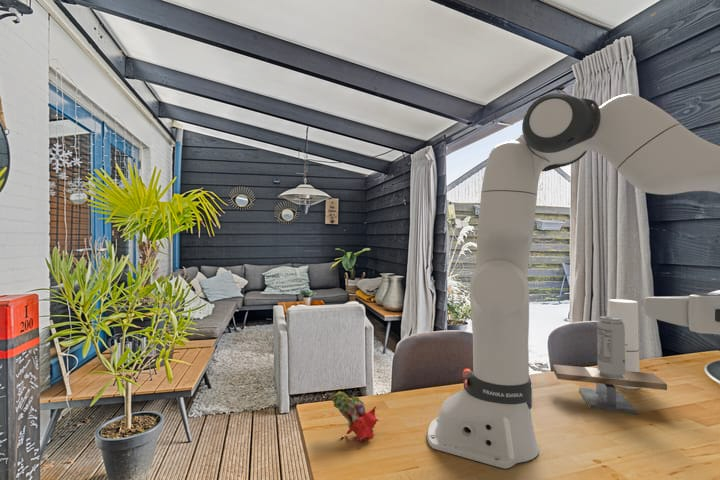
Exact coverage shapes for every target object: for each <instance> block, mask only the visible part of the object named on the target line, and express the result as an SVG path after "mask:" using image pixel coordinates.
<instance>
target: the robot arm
mask: <svg viewBox="0 0 720 480" xmlns="http://www.w3.org/2000/svg"><path fill="white" fill-rule="evenodd" d="M521 126H522V127H521V130H522V132H521V133H522V137H521V138H519V139H517V140H510V141H508V140H507V141H504V142H502V143H499V144H497V145H496V146H494V147H493V148H492V149H491V151H490V153H489V155H488V158H487V162H486V165H485V169H484V175H483V178H482V185H481V192H480V201H479V212H478V221H477V222H478V223H477V233H476V234H477V238H476V239H477V240H476V257H475V270H474V272H473V274H472V276H471V277H470V280H469V298H470V299H469V301H470V302H469V303H470V317H471V319H470V321H471V332H472V358H473V360H472V364H473V365H472V366H473V367H472V368H473V370H471V369H470V368H464V370H463V371H462V377H463V389H461V390H460V391H458V392H457V393H455V394H454V393H453V395H451V396H450V397H448V398H446V399H445V400H444V401H443V402H442V405H441V407H440V409H439V412H438V416H437V417H435V418H434V419H433V420H432V421H431V422H430V423H429V426H428V429H427V436H426V437H427V438H426V439H427V442H428V445H429V446H430V447H431V448H432V449H434V450H437V451H441V452H444V453H448V454H451V455H455V456H458V457H462V458H466V459H468V460H472V461H476V462H478V463H479V462H480V463H483V464H486V465H490V466H494V467H497V468H501V469H509V468H511V467H514V466H515V465H516V464H519V463H523V462H524V463H525V462H528V461H530V460H531V461H532V460H533V459H535V458H536V457H538V455H539V453H540V448H539V444H538V441H537V438H536V434H535V430H534V425H533V418H532V405H533V384H532V381H531V380H532V379H531V377H530V366H529V365H530V363H529V361H530V360H529V358H530V357H529V353H530V352H529V338H530V337H529V333H530V332H529V331H530V330H529V329H530V328H529V327H530V285H529V280H528V273H529V272H528V271H529V265H530V264H529V263H530V255H531V249H532V243H533V237H534V227H535V218H536V211H537V210H536V208H537V199H538V198H537V197H538V190H539V189H538V187H539V181H540V177H541V173H542V172H548V171H552V170H555V169H558V168H562V167H563V168H564V167H566V166H570V165H572V164H575V163H576V162H578V161H580V159H582V158H583V157H585V155H586V154H587V152H588V151H589V152H593V153H597V154H599V156H600V155H601V156H602V157H603V158H604V159H606V160H607V162H609V163H610V164H611V166H613V168H615V169H616V170H617V172H618V173H619V174H620V175H621V176H622V177H623V178H624V179H625V180H626V181H627V182H628V183H629V184H630V185H632V186H633V187H634V188H637V189H638V190H640V191H642V192H644V193H646V194H653V195H660V196H661V195H676V194H684V193H688V192H689V193H691V192H713V193H718V194H720V145H718V144H715V143H712V142H710V141H708V140H706V139H704V138H703V137H700V136H698V135H696V133H694V132H692V131H691V130H689V129H688V128H686V127H685V126H684V125H683V124H681V122H679V121H678V120H677V119H676V118H674V117H673V116H672V115H670V114H669V113H668V112H666V111H665V110H664V109H662V108H661V107H659V106H658V105H656V104H654V103H652V102H650V101H649V100H647V99H645V98H643V97H641V96H639V95H637V94H633V93H625V94H620V95H618V96H614V97H612V98H611V99H608V100H607V101H606V102H604V103H603V104H601V105H600V106H599V104H598V103H597V101H595V100H594V99H591V98H590V99H589V98H584V97H578V96H575V95H573V94H568V93H561V92H559V93H558V92H554V93H553V92H552V93H547V94H546V95H543V96H541V97H539V98H537V99H536V100H534V101H533V102H532V104H531V105H530V106H529V107H528V108H527V110H526V112H525V114H524V116H523V119H522V123H521ZM640 306H641V307H643V311H644V314H645V315H646V316H647V317H649V318H650V319H655V320H657V321H661V322H665V323H669V324H673V325H677V326H682V327H688V329H689V331H690V332H692V333H698V334H704V335H713V336H714V335H716V336H720V289H718V290H714V291H711V292H705V293H704V292H703V293H696V294H694V293H693V294H690V295H682V296H679V295H678V296H677V295H676V296H673V295H672V296H671V295H670V296H646V297H641V298H640ZM529 377H530V378H529Z"/></svg>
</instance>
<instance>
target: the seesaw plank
mask: <svg viewBox="0 0 720 480" xmlns="http://www.w3.org/2000/svg"><path fill="white" fill-rule="evenodd" d="M552 372H553V373H554V374H555V377H556V379H557V380H563V381H571V382H572V381H573V382H582V383H590V384H591V383H592V384H596V383H601V384H611V385H614V386H615V385H621V386H630V387H639V389H640V388H643V389H651V390H661V391H662V390H664V391H668V384H667V383H666V382H665V381H664V380H662V379H661V378H660V377H659V376H658V375H656V374H655V373H653V372H643V371H641V372H640V371H639V372H632V371H625V374H624V375H623V377H622V378H612V377H607V376H604V375H602V374H600V371H599V370H598V367H588V366H574V365H565V364H564V365H562V364H552Z"/></svg>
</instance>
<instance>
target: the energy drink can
mask: <svg viewBox="0 0 720 480" xmlns="http://www.w3.org/2000/svg"><path fill="white" fill-rule="evenodd" d="M596 341H597V342H596V343H597V344H596V348H597V349H596V350H597V351H596V352H597V360H596V361H597V362H596V363H597V367H596V368H598V370H599V371H600V374H602V375H604V376H607V377H612V378H622V377H623V375H624V374H625V325H624V324H623V322H622V319H621V318H619V317H612V316H609V315H600V316H599V318H598V320H597V322H596Z"/></svg>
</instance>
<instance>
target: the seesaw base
mask: <svg viewBox="0 0 720 480" xmlns="http://www.w3.org/2000/svg"><path fill="white" fill-rule="evenodd" d="M616 387H617V386H615V385H611V384H601V383H595V388H589V387H588V388H587V387H578V388H579V389H578V392H579V393H580V395H581V396H582V397H583V399H584V401H585V403H586V404H587V406H588V407H589V409H590V410H591V409H592V410H599V411H608V412H616V413H624V414H631V415H632V414H633V415H638V411H637V410H638V409H636V408H635V406H634V405H633V404H632V403H631V402H630V401H629V400H628V399H627V397H626V396H625V395H623V393H622V392H621V391H617V388H616Z"/></svg>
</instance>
